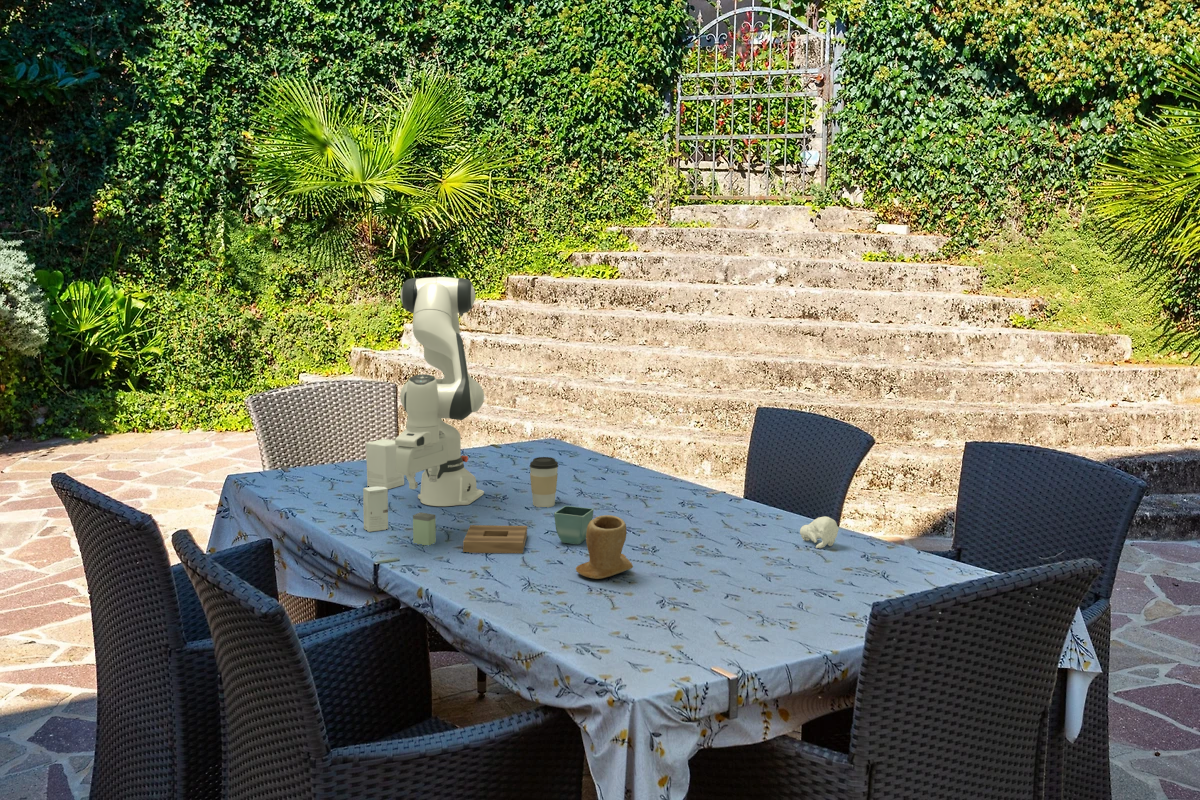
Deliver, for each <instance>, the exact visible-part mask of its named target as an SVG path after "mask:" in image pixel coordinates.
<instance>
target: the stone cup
mask: <svg viewBox="0 0 1200 800" xmlns="http://www.w3.org/2000/svg"><path fill="white" fill-rule="evenodd" d="M626 539H627V524H626V522H625V521H624V519H623V518H620V517H618V516H615V515H611V514H605V515H599V516H596V517H594V518H592V520H591V521H590V522H589V524H588V526H587V533H586V539H585V541H586V544H585V545H586V549H587V551H588V556H589V559H588V560H589V561H586V562H583V563H581V564H579V565H577V566H576V567H575V571H576V572H577V574H579V575H581V576H583V577H585V578H590V579H594V580H599V579H606V578H610V577H612V576H614V575H618V574H621V573H623V572H626V571H629V570H631V569H633V568H634V565H633V563H632V562H631V561H630V560H629V559H628V558H627V556H626V555H625V554H623V553H622V552H623V548H624V545H625V542H626Z"/></svg>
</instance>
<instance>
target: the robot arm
mask: <svg viewBox="0 0 1200 800" xmlns="http://www.w3.org/2000/svg"><path fill="white" fill-rule="evenodd" d="M400 300H401V304H402V307H403V309H405V311H407V312H408V313H410V314H411V313H412V315H413V317H412V332H413V336H414V338H415V339H416V341H417V342H418V343H419V344H421V346H423V358H424V360H425V362H426V363H428V364H429V365H430V366H432V367H433V368H435V369H438V370H440V371H441V372H442V375H443V377H444V378H436V377H435V376H434V375H431V374H426V373H425V374H416V375H413V376H411V377H409V378H408V381H407V382H405V383H404V384H403V385H402V388H401V391H400V395H399V396H400V397H399V399H400V403H401V406H402V407H403V409H404V411H405V413H406V415H407V419H406V425H405V426H406V428H405V429H404V430H403V431H402V432H401V433H400V434H398V436H397V437H396V438H395V439H394V440H395V445H396V446H398V448H397V450H396V470H397V472H398V474H400V475H404V476H405V477H406V479H407V481H408V486H409V487H408V488H409V489H410V490H415V489H418V487H419V486H418V485H419V482H418V481H416V478H415V477H417V475H416V474H417V473H419V472H422V471H423V472H422V473H421V480H420V481H421V484H420V493H418V495H417V499H419V501H420V503H422V504H423V505H426V506H431V507H453V506H468V505H471V504H472V503H473V502H474V501H476V500H478V499H479V498H481V496H483V495H484V494H485V491H484V490H482V489H480V488H477V479H476V476H475V475H474V474H472V473H471V472H470V471H469V470H468V469H467V468H465V464H464V462H465V463H467V462H468V461H469V457H468V455H461V451H462V449H461V448H462V447H461V444H462V443H461V439H462V438H461V434H460V432H459V430H458V429H457V428H456V427H454V426H453V425H451V424H448V423H446V422H445V421H444V420H443V419H450V420H454V421H455V420H456V421H464V420H465V419H467V418H468V417H469V416H470V415H471V414H472V413H477V412H478V411H479V410H480V409H481V407H482V406H483V405H484V401H485V392H484V389H483V387H482V386H481V384H480V383H479V382H478V381H477V380H476V379H474V378H473V377H472V376H471V375H470V374H469V372H468V365H467V358H466V357H467V356H466V352H465V351H466V350H465V348H464V347H465V346H464V341H463V337H462V336H461V333H460V332H461V331H460V320H459V316H460V317H463V316H464V314H466V313H468V312H470V311H471V310H472V309H473V306H474V303H475V301H476V291H475V287H474V285H473V283H472V282H471V280H470V279H467V278H464V277H459V278H457V277H450V276H436V277H422V278H418V277H414V278H408V279H406V280H405V281H404V282H403V284H402V287H401V290H400Z"/></svg>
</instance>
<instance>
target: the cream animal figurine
mask: <svg viewBox="0 0 1200 800" xmlns="http://www.w3.org/2000/svg"><path fill="white" fill-rule="evenodd" d="M839 530H840V529H839V526H838V524H837V521H836V520H835V519H833V518H831V517H829V516H821V517H820V516H819V517H817V518H815V519H813V520H812V522H811V521H810V523H809V524H803V525H802V526H801V527H800V529H799V534H800V537H801V538H802V540H803V541H807V542H808V541H810V540H811V542H813V543H814V544H815V543H817V542H818V539H821V542H819V543H817V544H816V546H815V548H816V549H817V548H819V549H824V548H825V547H826V546H828V547H832V546H833V545H834V543H835V541H836V539H837V537H838V533H839Z"/></svg>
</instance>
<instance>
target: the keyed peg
mask: <svg viewBox="0 0 1200 800" xmlns="http://www.w3.org/2000/svg"><path fill="white" fill-rule="evenodd" d="M436 522H437V521H436V514H434V513H426V512H418V513H416V514H413V515H412V535H413V536H412V538H413V539H412V540H413V541H412V542H413V543H417V544H416V545H419V544H422V545H421V546H425V545H430V546H431V544H432V545H434V544H436V543H437V538H436V534H437V531H436V529H437V528H436V527H437V525H436V524H437V523H436ZM435 542H436V543H435ZM433 543H434V544H433Z"/></svg>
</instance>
